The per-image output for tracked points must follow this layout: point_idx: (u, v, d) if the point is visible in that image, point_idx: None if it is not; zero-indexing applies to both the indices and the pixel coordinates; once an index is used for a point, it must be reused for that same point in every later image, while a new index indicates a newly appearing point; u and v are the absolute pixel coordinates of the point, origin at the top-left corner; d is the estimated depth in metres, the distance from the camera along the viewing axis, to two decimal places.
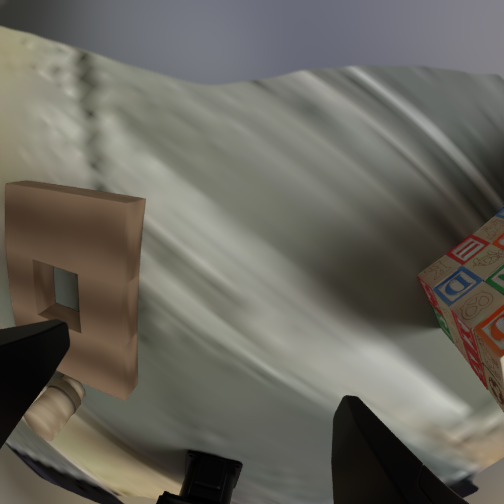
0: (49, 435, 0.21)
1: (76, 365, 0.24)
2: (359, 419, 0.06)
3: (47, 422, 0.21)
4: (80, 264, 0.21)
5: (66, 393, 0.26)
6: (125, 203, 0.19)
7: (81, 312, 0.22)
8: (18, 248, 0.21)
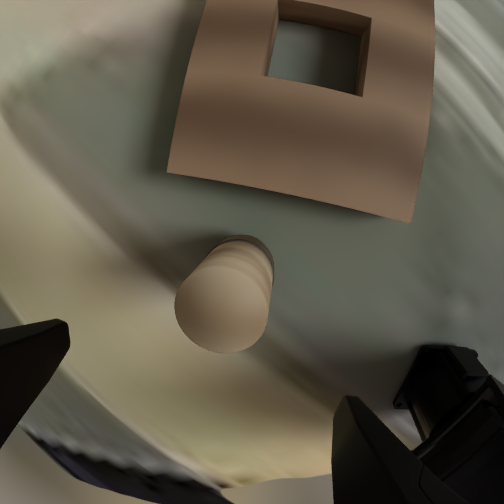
0: (251, 329, 0.13)
1: (328, 164, 0.15)
2: (359, 419, 0.06)
3: (261, 287, 0.13)
4: (377, 9, 0.12)
5: (263, 250, 0.17)
6: None
7: (370, 64, 0.14)
8: None
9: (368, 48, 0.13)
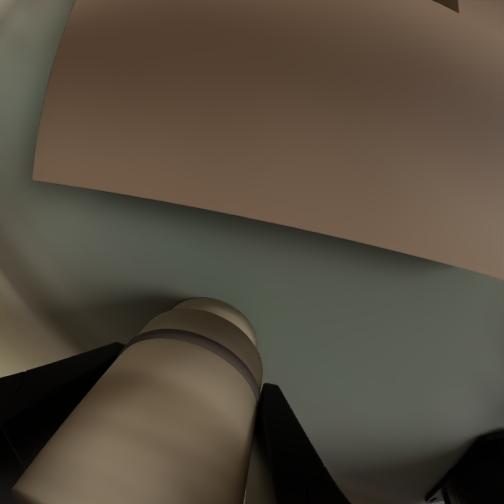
0: None
1: (403, 150, 0.05)
2: (267, 407, 0.07)
3: None
4: None
5: (234, 355, 0.07)
6: None
7: None
8: None
9: None
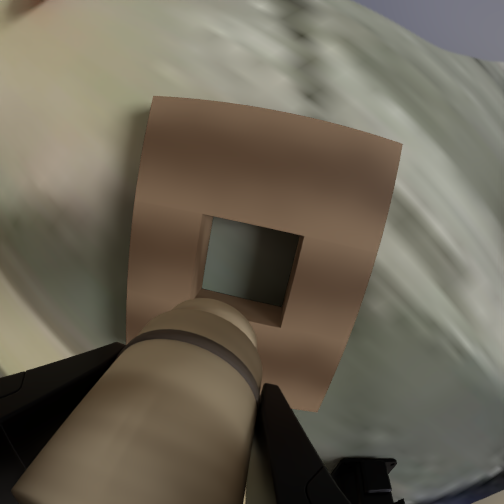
0: None
1: None
2: (267, 407, 0.07)
3: None
4: (313, 221, 0.16)
5: (234, 356, 0.07)
6: (399, 143, 0.14)
7: (293, 294, 0.17)
8: (170, 198, 0.16)
9: (294, 274, 0.17)
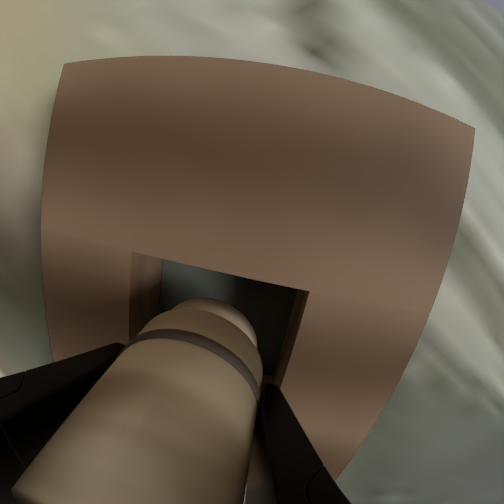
0: None
1: None
2: (267, 407, 0.07)
3: None
4: (326, 264, 0.09)
5: (234, 355, 0.07)
6: (470, 128, 0.07)
7: (288, 381, 0.10)
8: (84, 224, 0.09)
9: (291, 351, 0.10)
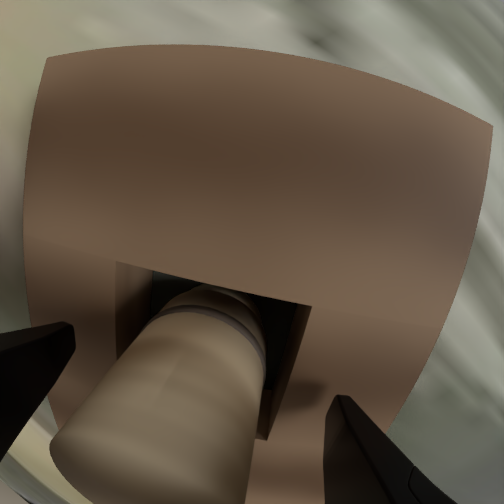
0: None
1: None
2: (350, 418, 0.06)
3: (226, 473, 0.04)
4: (331, 276, 0.08)
5: (244, 327, 0.08)
6: (487, 125, 0.06)
7: (288, 400, 0.09)
8: (66, 230, 0.08)
9: (291, 369, 0.09)
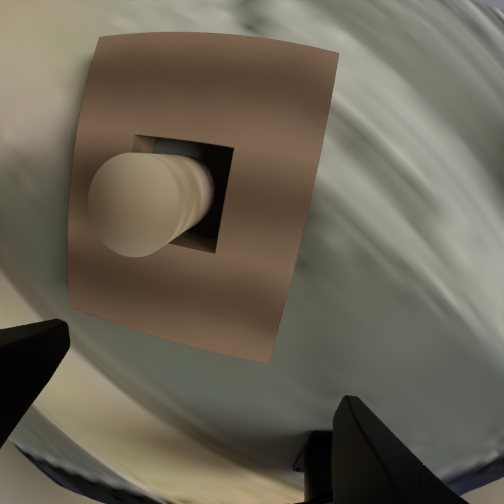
0: (162, 224, 0.11)
1: (185, 316, 0.17)
2: (359, 419, 0.06)
3: (175, 175, 0.11)
4: (243, 131, 0.14)
5: (200, 164, 0.15)
6: (335, 53, 0.13)
7: (226, 213, 0.16)
8: (107, 123, 0.15)
9: None
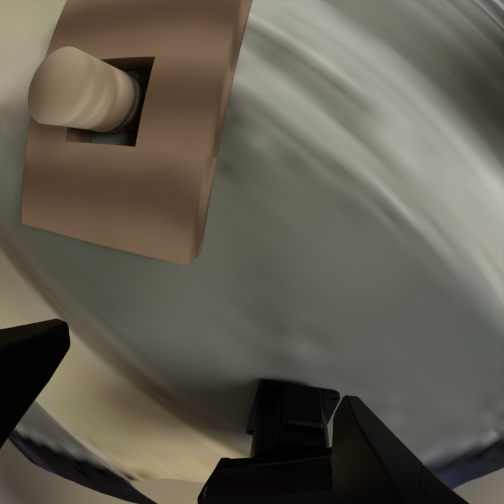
0: (72, 90, 0.10)
1: (109, 214, 0.17)
2: (359, 419, 0.06)
3: (89, 58, 0.10)
4: (163, 43, 0.14)
5: (128, 74, 0.15)
6: None
7: (145, 109, 0.15)
8: None
9: None
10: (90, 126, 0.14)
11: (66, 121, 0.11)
